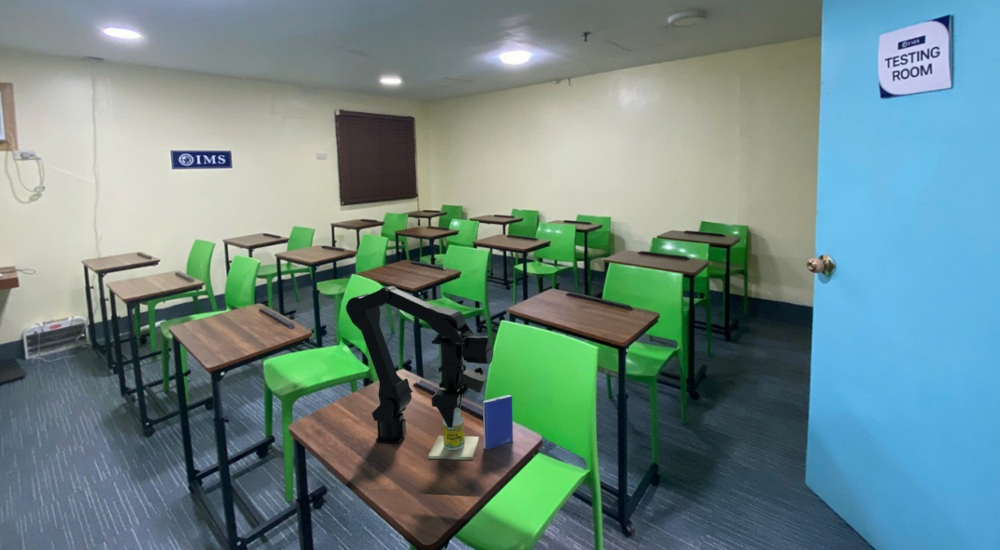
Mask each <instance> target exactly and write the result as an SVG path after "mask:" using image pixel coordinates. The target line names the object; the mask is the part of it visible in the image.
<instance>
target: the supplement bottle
mask: <svg viewBox="0 0 1000 550" xmlns="http://www.w3.org/2000/svg"><path fill="white" fill-rule="evenodd" d="M464 424H465V423H464V418H463V416H462V415H461V407H460V408H457V407H456V408H455V413H454V421H453V426H452V427H448V426H447V424H446V422H445V421H444V419H443V418H442V434H443V435H442V436H443V439H444V447H445V448H446V449H448V450H458V449H460V448H462V447H463V446H464V445H465V439H464V436H465V425H464Z"/></svg>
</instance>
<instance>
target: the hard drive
mask: <svg viewBox="0 0 1000 550" xmlns="http://www.w3.org/2000/svg"><path fill="white" fill-rule="evenodd" d="M482 416H483V418H482V419H483V420H482V421H483V448H484V450H490V449H493V448H496V447H500V446H503V445H507V444H510V443H513V442H514V436H513V435H514V433H513V432H514V425H513V418H514V417H513V395H510V394H507V395H502V396H498V397H494V398H489V399H486V400H483V401H482Z"/></svg>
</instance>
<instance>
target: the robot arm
mask: <svg viewBox="0 0 1000 550" xmlns="http://www.w3.org/2000/svg"><path fill="white" fill-rule="evenodd" d="M386 304H387V305H389V306H392V307H393V308H395V309H397V310H399V311H402V312H404V313H407V314H408V315H410V316H412V317H414V318H416V319H418V320H421V321H423V322H424V323H426V324H427V325H428V326H429V328H430V329H431V330H432V331H434V332H435V333H437V334H436V337H435V338H434V339H432V340H431V344H432V345H439V357H440V358H439V359H440V365H439V367H438V372H439V373H440V382H439V383H438V387H439V388H440V389H438V390H437V391H436V392H435V393H434V394H433V396H432V397H431V407H434V408H436V409H437V410H438V412H439V413H440V415H441V417H442V420H443V419H444V421H445V422H446V424H447V426H448V427H452V426H453V421H454V413H455V408H456V407H457V408H460V409H461V406H462V402H463V397H464V394H465V393H466V392H467V391H468V389H470V390H472V391H474V392H475V393H478V394H479V393H481V392H482V390H483V388H484V385H485V383H486V380H487V374H486V373H485V370H484V367H481V366H479V365H478V366H477V367H475V369H472V368H471V369H468V368H467V363H468V364H469V363H470V364H480V365H481V364H483V365H490V364H491V363H492V362H493V359H494V352H495V351H494V346H493V343H492V340H491V336H490V335H481V336H480V335H474V332H473V331H472V329H471V328H470V326H469V325H468V324H467V322H466V320H465V316H464V314H463V313H462V312H461V311H459V310H456V309H452V308H450V307H443V306H437V305H432V304H431V303H428V302H426V301H424V300H422V299H420V298H418V297H415V296H414V295H412V294H409V293H407V292H404V291H402V290H401V289H398V288H397V287H396V286H393V285H388V286H385V287H382V288H380V289H379V290H377V291H375V292H372V293H365V294H361V295H358V296H354V297H352V298H349V300H347V303H346V305H345V311H346V313H347V316H348V317H349V319H350V321H351V322H352V324H353V325H354V326H355V328H357V329H358V330H359V331H360V332H361V334H362V337H363V340H364V343H365V346H366V349H367V352H368V353H369V354H368V355H369V357H370V359H371V362H372V365H373V369H374V370H375V374H376V376H377V379H378V383H379V385H378V386H379V387H378V400H379V405H378V406H377V407H376V408H375V409H374V410H373V411H372V412H371V415H372V418H373V421H374V422H376V423H377V424H376V425H377V437H376V439H375V442H376V443H387V444H388V443H390V444H391V443H392V444H394V443H395V444H399V443H401V440H402V439H403V438H404V437H405V435H406V434H407V429H406V428H407V426H406V425H407V424H406V419H405V418H404V412H405V411H406V408H407V406H408V405H409V404H410V403H411V401H412V398H413V397H412V393H413V390H412V388H411V387H410V386H411V385H410V383H409V380H408V378H407V377H406V378H404V379H403V378H401V377H400V376H399V375H398V373H397V370H396V367H395V365H394V363H393V360H392V356H391V354H390V351H389V348H388V345H387V343H386V340H385V337H384V333H383V332H382V329H381V325H380V320H381V309H380V307H382V306H385V305H386ZM464 361H465V362H464ZM441 388H443V389H441Z"/></svg>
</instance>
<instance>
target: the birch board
mask: <svg viewBox="0 0 1000 550" xmlns="http://www.w3.org/2000/svg"><path fill="white" fill-rule="evenodd" d="M464 439H465V445H464V446H463V447H462V448H460V449H458V450H448V449H446V448H445V447H444V439H443V435H438V436H437V438H436V440H435V442H434V444H433V445H432V448H431V450H430V452H429V454H428V457H427V458H428V459H433V460H434V459H435V460H437V459H438V460H439V459H440V460H466V461H469V460H470V461H473V459H474V457H475V453H476V450H477V446H478V445H479V443H478V442H479V439H480V436H471V435H470V436H467V435H464Z"/></svg>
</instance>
